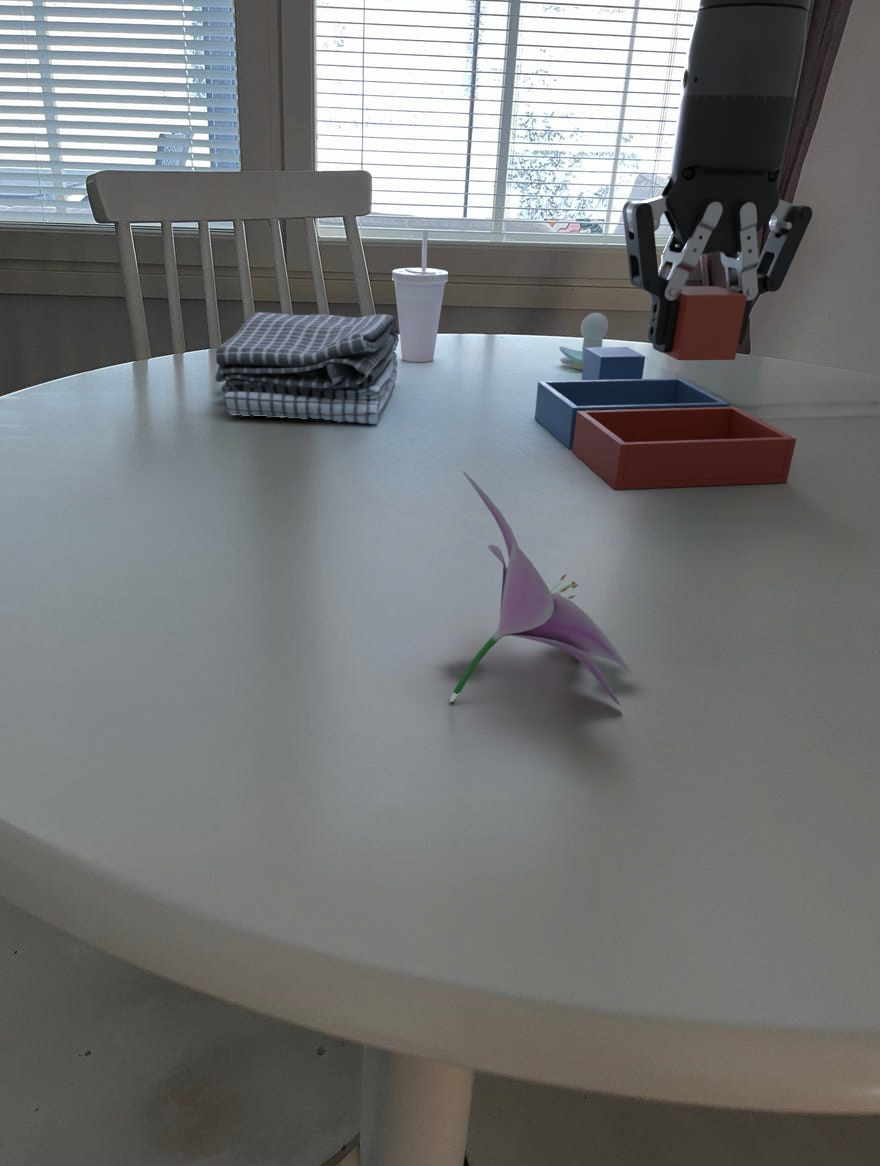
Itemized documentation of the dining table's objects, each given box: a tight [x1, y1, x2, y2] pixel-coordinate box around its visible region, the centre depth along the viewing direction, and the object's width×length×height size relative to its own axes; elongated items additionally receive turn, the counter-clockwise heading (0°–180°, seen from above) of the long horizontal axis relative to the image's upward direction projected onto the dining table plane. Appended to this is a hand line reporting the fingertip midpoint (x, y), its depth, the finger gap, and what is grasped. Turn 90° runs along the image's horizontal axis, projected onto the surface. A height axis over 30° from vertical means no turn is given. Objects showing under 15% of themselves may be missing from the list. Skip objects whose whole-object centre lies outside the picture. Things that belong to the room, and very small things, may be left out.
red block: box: [664, 285, 747, 361], centre depth 70 cm, size 5×5×5 cm
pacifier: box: [559, 312, 609, 371], centre depth 107 cm, size 7×6×6 cm
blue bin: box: [534, 377, 731, 450], centre depth 84 cm, size 14×10×4 cm
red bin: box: [571, 406, 797, 491], centre depth 75 cm, size 14×10×4 cm
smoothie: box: [391, 229, 449, 363], centre depth 107 cm, size 6×6×14 cm
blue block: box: [581, 346, 646, 380], centre depth 94 cm, size 5×5×5 cm
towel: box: [214, 311, 400, 425], centre depth 90 cm, size 15×18×8 cm
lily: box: [452, 471, 633, 706], centre depth 43 cm, size 12×12×10 cm
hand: (694, 349), depth 71 cm, fingers closed on red block, 4 cm apart
